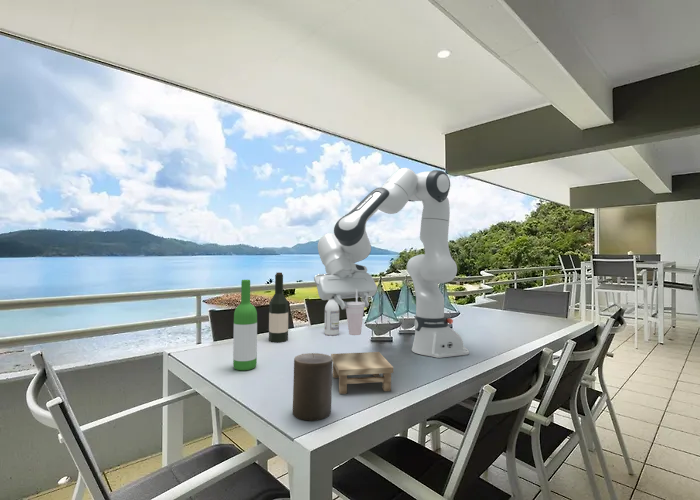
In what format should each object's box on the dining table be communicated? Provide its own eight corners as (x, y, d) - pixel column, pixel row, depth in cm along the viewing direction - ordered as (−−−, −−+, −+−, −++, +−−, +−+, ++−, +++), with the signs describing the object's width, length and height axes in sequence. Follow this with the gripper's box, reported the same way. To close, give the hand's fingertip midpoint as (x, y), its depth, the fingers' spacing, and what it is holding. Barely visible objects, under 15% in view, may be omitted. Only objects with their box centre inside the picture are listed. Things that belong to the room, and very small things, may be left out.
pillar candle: (310, 425, 87) (312, 360, 87) (284, 412, 93) (286, 352, 93) (339, 412, 94) (340, 352, 94) (313, 401, 100) (314, 345, 100)
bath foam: (341, 333, 179) (342, 291, 179) (334, 336, 173) (335, 293, 173) (329, 331, 182) (329, 291, 182) (321, 334, 176) (322, 292, 176)
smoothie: (363, 336, 112) (363, 290, 112) (342, 335, 113) (342, 289, 113) (366, 332, 118) (366, 288, 118) (347, 331, 120) (347, 287, 120)
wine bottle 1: (257, 363, 132) (258, 278, 131) (255, 370, 124) (256, 281, 124) (234, 364, 130) (235, 279, 130) (231, 371, 123) (232, 281, 122)
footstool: (378, 372, 123) (379, 351, 123) (393, 391, 108) (393, 367, 107) (330, 375, 120) (331, 353, 120) (338, 394, 105) (338, 370, 105)
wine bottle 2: (278, 337, 170) (279, 271, 170) (291, 340, 165) (292, 272, 165) (264, 340, 163) (265, 272, 163) (278, 343, 159) (278, 273, 158)
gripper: (315, 268, 117) (329, 303, 108) (370, 266, 127) (386, 298, 118) (309, 281, 120) (322, 316, 112) (363, 278, 131) (378, 310, 122)
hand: (355, 307), depth 115 cm, fingers closed on smoothie, 6 cm apart
